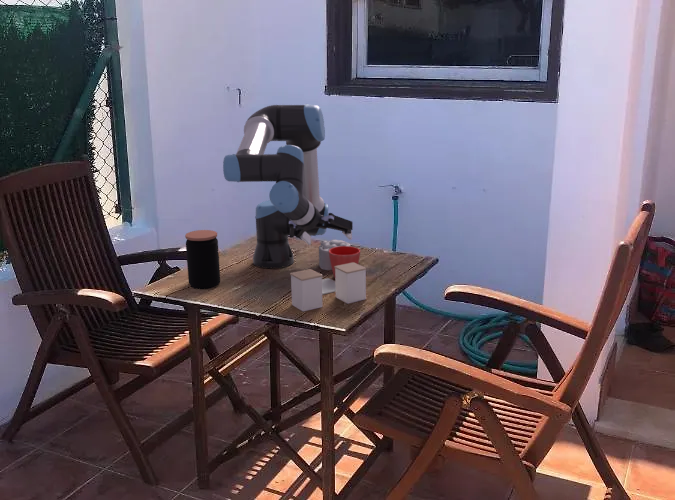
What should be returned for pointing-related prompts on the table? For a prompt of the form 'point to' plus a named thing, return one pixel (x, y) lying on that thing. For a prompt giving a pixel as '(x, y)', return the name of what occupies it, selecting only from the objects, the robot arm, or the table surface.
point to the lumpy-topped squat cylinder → (324, 252)
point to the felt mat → (328, 286)
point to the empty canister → (350, 282)
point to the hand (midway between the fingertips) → (330, 238)
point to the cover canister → (306, 289)
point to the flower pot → (343, 256)
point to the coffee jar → (202, 259)
